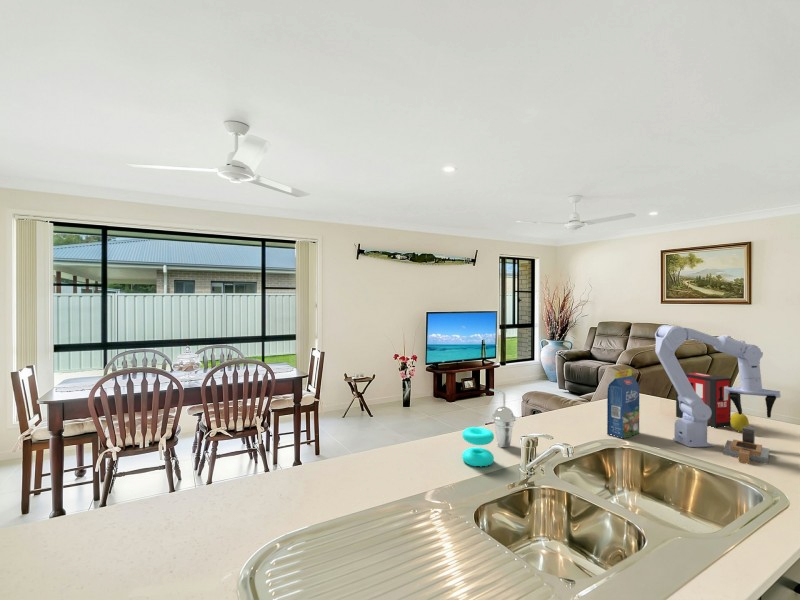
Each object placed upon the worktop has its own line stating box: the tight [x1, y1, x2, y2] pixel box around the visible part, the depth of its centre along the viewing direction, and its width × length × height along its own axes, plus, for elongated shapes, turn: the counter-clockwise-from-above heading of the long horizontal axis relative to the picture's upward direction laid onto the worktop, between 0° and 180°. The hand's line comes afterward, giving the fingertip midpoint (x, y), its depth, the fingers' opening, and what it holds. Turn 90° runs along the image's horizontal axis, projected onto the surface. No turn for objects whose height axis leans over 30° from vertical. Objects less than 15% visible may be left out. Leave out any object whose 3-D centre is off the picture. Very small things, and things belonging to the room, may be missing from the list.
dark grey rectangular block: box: [741, 426, 756, 444], centre depth 139 cm, size 4×3×7 cm
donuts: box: [461, 426, 495, 468], centre depth 126 cm, size 10×10×10 cm
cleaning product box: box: [675, 370, 732, 429], centre depth 169 cm, size 16×9×20 cm, turn 17°
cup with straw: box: [489, 388, 517, 448], centre depth 140 cm, size 8×9×20 cm
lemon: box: [730, 412, 750, 433], centre depth 155 cm, size 6×6×8 cm
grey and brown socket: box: [723, 439, 770, 465], centre depth 131 cm, size 16×11×3 cm
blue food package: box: [606, 368, 640, 439], centre depth 152 cm, size 6×12×25 cm, turn 123°
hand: (754, 415), depth 139 cm, fingers open, 7 cm apart
